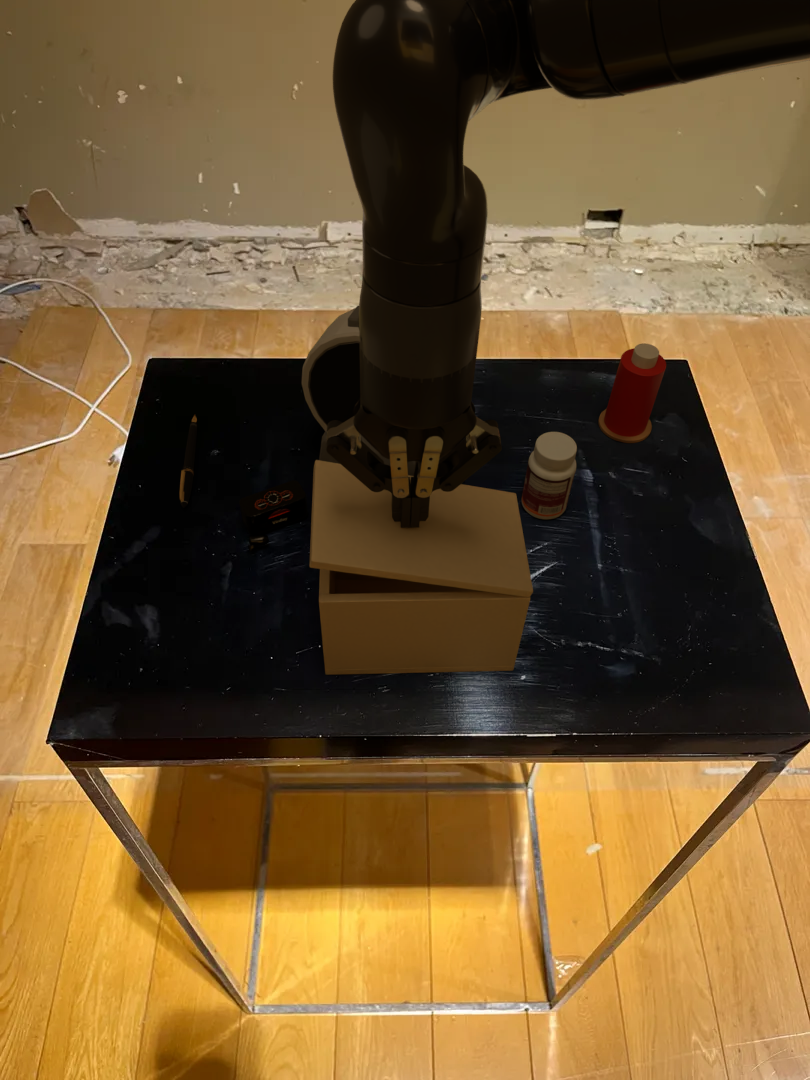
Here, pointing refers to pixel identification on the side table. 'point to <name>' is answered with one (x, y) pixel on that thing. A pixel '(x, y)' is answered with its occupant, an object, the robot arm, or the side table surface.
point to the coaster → (623, 438)
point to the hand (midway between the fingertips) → (409, 519)
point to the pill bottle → (549, 475)
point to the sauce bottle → (634, 390)
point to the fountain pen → (188, 464)
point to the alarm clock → (336, 378)
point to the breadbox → (415, 626)
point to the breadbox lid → (419, 535)
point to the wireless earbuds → (272, 510)
